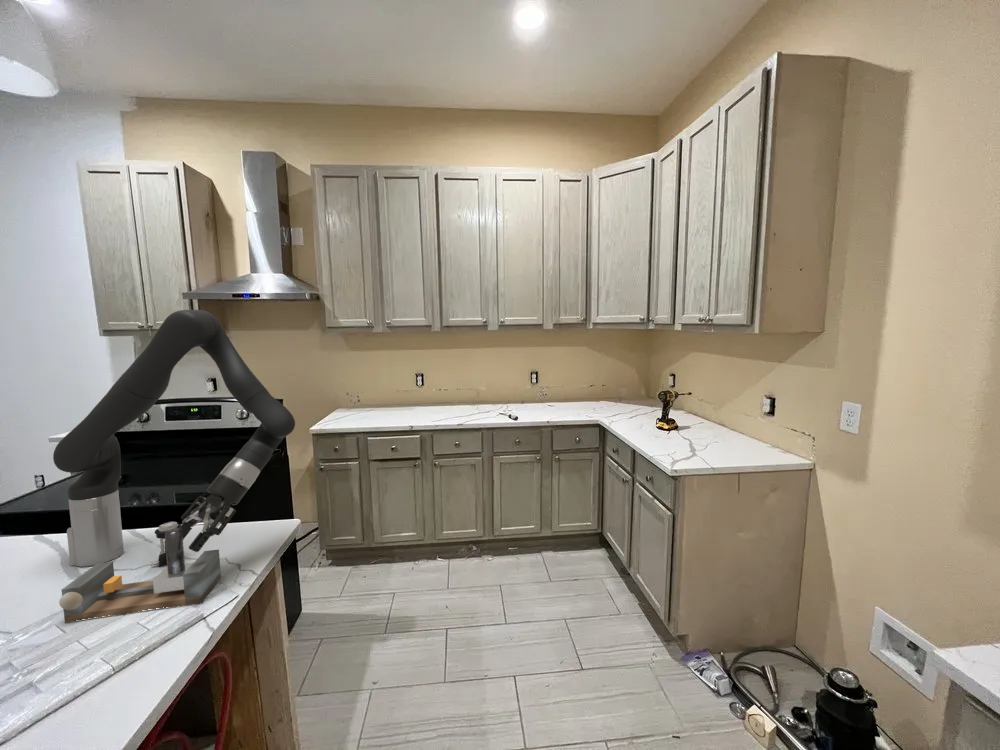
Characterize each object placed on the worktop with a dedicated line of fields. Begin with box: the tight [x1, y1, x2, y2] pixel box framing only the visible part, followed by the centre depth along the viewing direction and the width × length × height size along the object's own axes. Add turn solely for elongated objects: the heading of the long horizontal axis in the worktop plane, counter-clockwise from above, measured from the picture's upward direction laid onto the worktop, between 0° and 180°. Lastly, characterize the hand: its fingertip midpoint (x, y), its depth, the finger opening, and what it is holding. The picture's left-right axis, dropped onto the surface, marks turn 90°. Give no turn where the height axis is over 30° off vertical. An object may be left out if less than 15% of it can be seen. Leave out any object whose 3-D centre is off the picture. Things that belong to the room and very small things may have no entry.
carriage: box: [152, 528, 195, 594], centre depth 91 cm, size 6×6×12 cm
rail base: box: [58, 548, 222, 623], centre depth 90 cm, size 24×10×7 cm, turn 104°
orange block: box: [103, 574, 123, 593], centre depth 89 cm, size 2×3×2 cm, turn 14°
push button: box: [149, 521, 182, 568], centre depth 105 cm, size 7×5×10 cm
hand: (183, 545), depth 93 cm, fingers open, 8 cm apart
